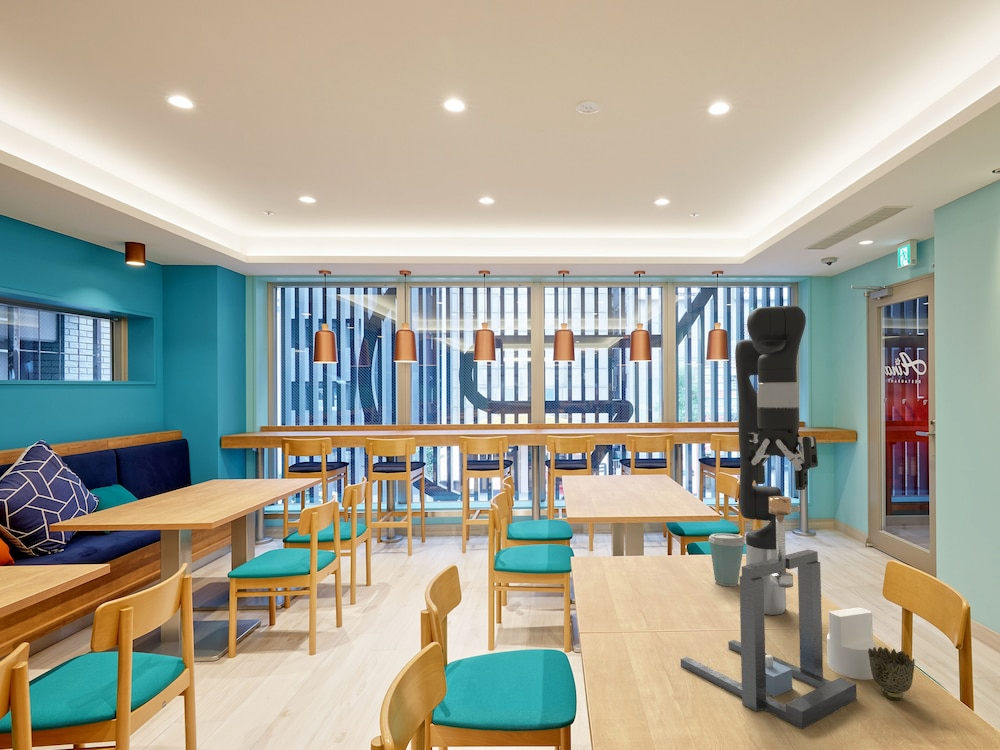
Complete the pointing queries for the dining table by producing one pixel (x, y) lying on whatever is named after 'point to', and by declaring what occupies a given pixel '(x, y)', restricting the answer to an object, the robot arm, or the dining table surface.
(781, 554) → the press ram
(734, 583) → the disposable coffee cup
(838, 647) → the base with upright slab
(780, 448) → the robot arm
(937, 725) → the dining table surface
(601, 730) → the dining table surface
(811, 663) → the press frame
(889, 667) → the cup
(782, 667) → the housing block
